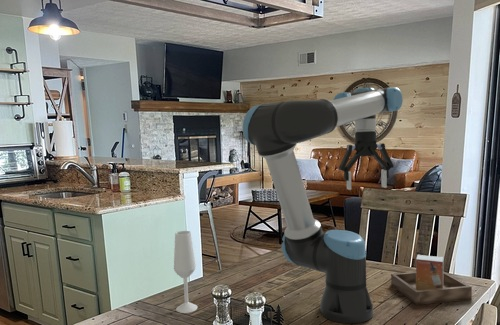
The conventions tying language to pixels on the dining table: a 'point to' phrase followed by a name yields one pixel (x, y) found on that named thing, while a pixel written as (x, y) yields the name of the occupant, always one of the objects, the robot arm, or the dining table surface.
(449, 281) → the wooden tray
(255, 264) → the dining table surface
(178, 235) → the champagne flute
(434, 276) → the small box
